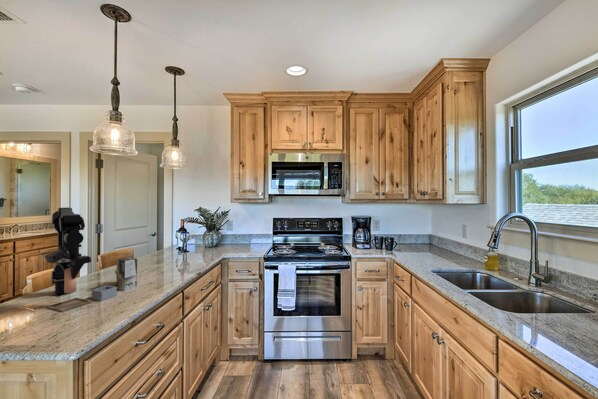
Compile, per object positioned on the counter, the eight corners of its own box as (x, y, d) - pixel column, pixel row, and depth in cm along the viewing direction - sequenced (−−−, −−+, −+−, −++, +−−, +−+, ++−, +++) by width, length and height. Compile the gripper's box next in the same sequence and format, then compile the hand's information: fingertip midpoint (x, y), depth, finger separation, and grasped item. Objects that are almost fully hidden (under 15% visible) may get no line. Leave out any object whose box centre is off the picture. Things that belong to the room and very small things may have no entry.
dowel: (62, 292, 117) (62, 269, 117) (72, 289, 121) (72, 267, 121) (67, 293, 116) (68, 270, 116) (78, 290, 120) (78, 268, 120)
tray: (46, 309, 115) (46, 306, 115) (76, 300, 126) (76, 297, 126) (62, 313, 111) (62, 310, 111) (92, 304, 122) (92, 300, 122)
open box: (91, 300, 126) (91, 289, 126) (107, 295, 133) (107, 285, 133) (101, 302, 124) (101, 291, 124) (116, 297, 130) (116, 287, 130)
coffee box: (137, 288, 143) (137, 258, 143) (124, 292, 137) (124, 260, 137) (128, 285, 148) (129, 256, 148) (115, 289, 142) (116, 258, 142)
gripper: (35, 244, 114) (35, 280, 114) (62, 247, 108) (61, 286, 108) (66, 240, 125) (65, 274, 125) (92, 243, 118) (91, 278, 118)
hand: (70, 278), depth 118 cm, fingers closed on dowel, 4 cm apart
